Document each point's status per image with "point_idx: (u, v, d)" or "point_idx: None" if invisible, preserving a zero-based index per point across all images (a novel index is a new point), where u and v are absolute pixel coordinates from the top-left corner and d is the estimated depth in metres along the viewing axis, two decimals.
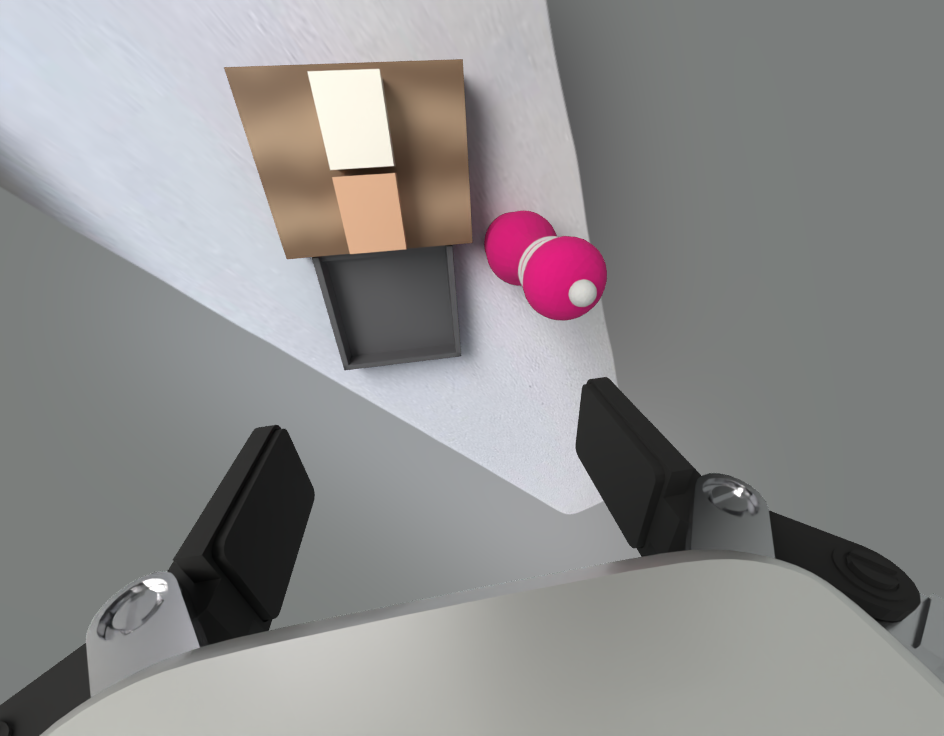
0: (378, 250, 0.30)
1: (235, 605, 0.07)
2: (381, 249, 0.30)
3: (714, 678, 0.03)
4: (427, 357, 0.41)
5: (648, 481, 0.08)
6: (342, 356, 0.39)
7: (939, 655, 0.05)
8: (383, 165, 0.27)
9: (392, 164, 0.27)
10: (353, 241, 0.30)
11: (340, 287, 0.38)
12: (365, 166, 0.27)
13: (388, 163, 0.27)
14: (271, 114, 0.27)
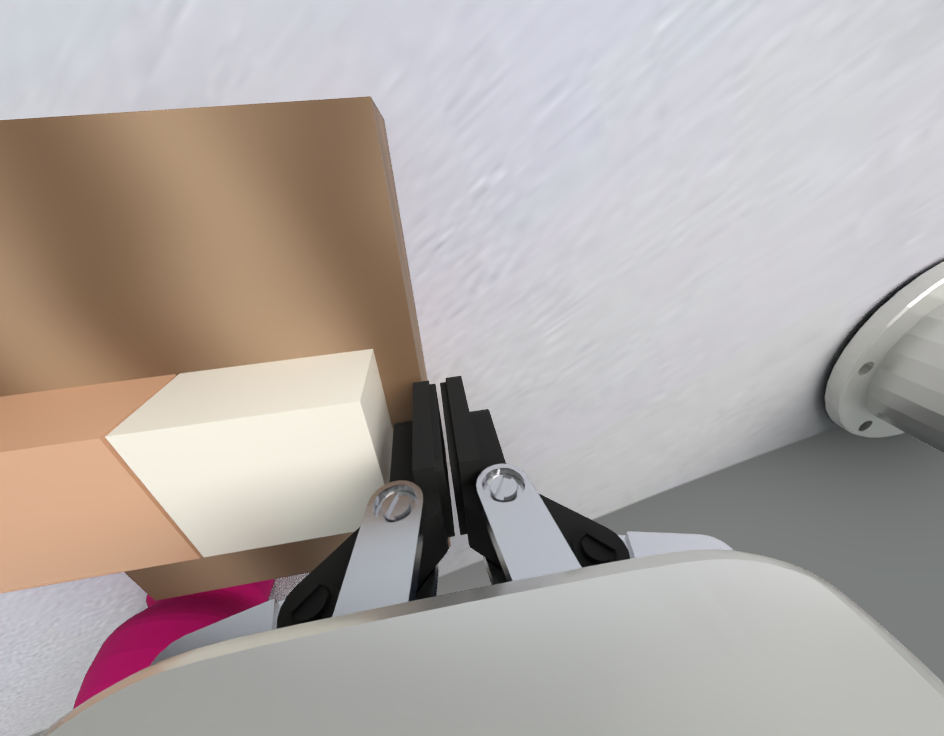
0: None
1: (442, 515, 0.08)
2: None
3: (714, 678, 0.03)
4: None
5: None
6: None
7: None
8: (193, 541, 0.10)
9: (205, 555, 0.11)
10: None
11: None
12: (169, 510, 0.09)
13: (204, 549, 0.10)
14: (279, 219, 0.09)
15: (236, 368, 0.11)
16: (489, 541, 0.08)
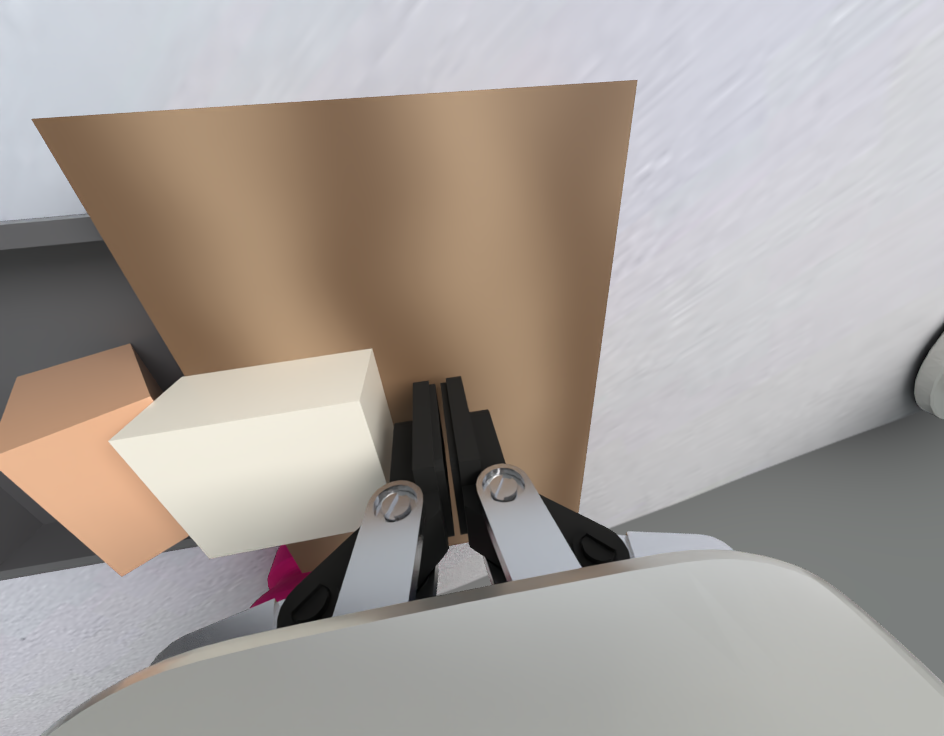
0: None
1: (442, 515, 0.08)
2: None
3: (714, 678, 0.03)
4: None
5: None
6: None
7: None
8: (199, 543, 0.10)
9: (211, 556, 0.11)
10: None
11: (67, 261, 0.12)
12: (174, 513, 0.10)
13: (209, 550, 0.11)
14: (524, 196, 0.10)
15: (237, 371, 0.11)
16: (490, 542, 0.08)
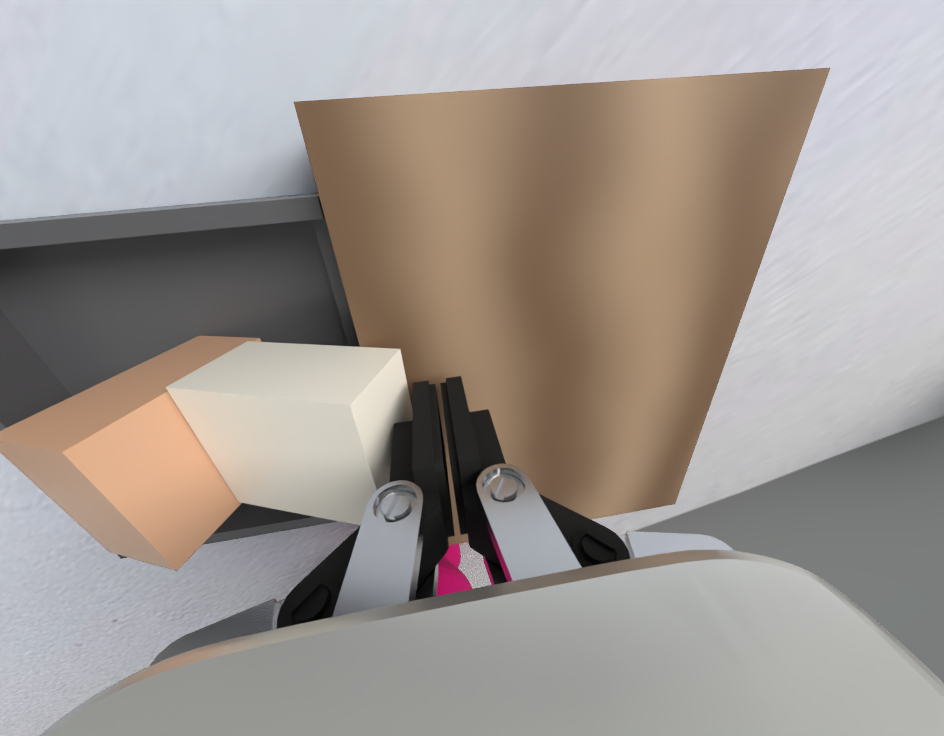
0: None
1: (442, 515, 0.08)
2: None
3: (714, 678, 0.03)
4: None
5: None
6: None
7: None
8: (230, 486, 0.12)
9: (239, 500, 0.12)
10: None
11: (236, 244, 0.12)
12: (211, 457, 0.11)
13: (237, 495, 0.12)
14: (704, 179, 0.10)
15: (285, 345, 0.12)
16: (489, 541, 0.08)
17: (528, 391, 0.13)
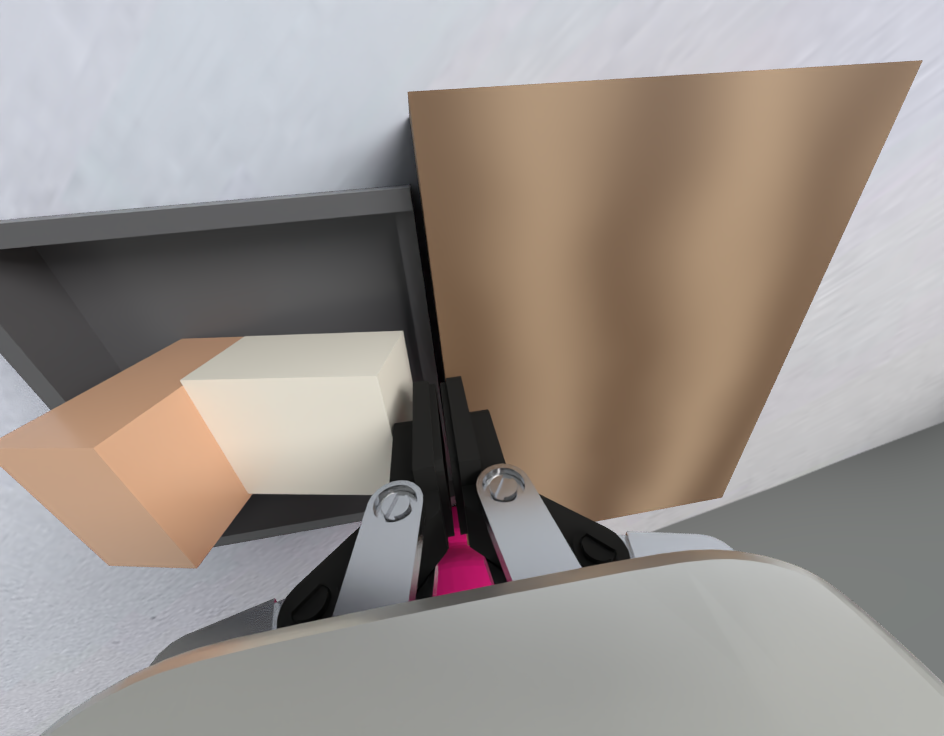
0: None
1: (442, 515, 0.08)
2: None
3: (714, 678, 0.03)
4: None
5: None
6: None
7: None
8: (241, 478, 0.12)
9: (249, 492, 0.12)
10: None
11: (309, 237, 0.12)
12: (223, 449, 0.11)
13: (248, 486, 0.12)
14: (789, 171, 0.10)
15: (287, 336, 0.12)
16: (490, 542, 0.08)
17: (595, 384, 0.13)
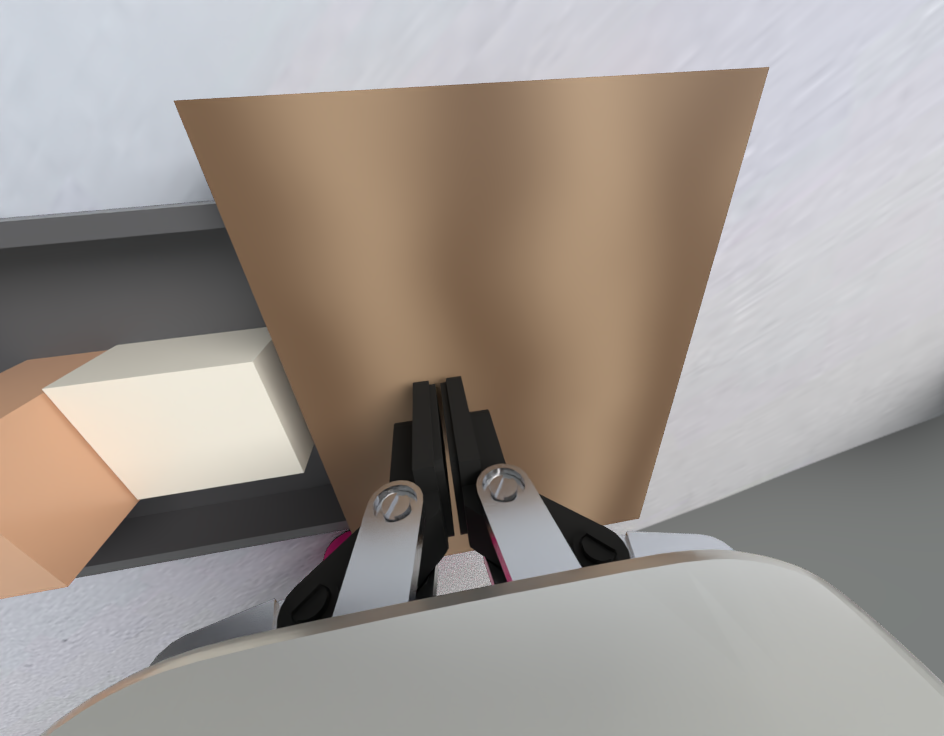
0: None
1: (442, 515, 0.08)
2: None
3: (714, 678, 0.03)
4: None
5: None
6: None
7: None
8: (126, 484, 0.12)
9: (139, 497, 0.13)
10: None
11: (155, 252, 0.11)
12: (102, 455, 0.11)
13: (136, 491, 0.12)
14: (642, 185, 0.09)
15: (164, 340, 0.13)
16: (490, 542, 0.08)
17: (471, 407, 0.12)
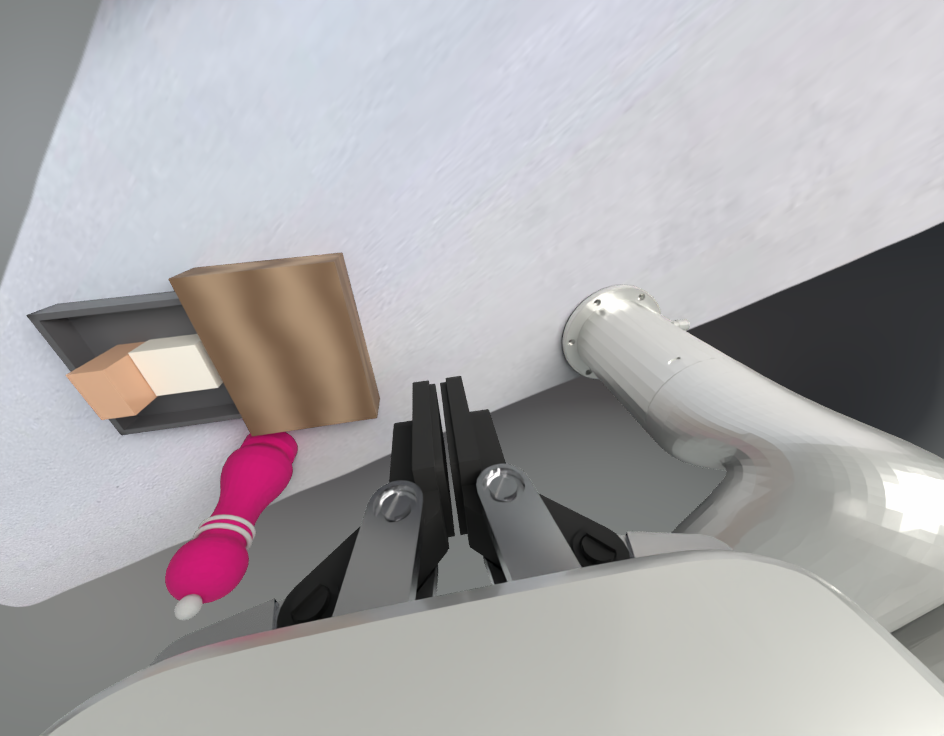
0: None
1: (442, 515, 0.08)
2: None
3: (714, 678, 0.03)
4: None
5: None
6: (50, 314, 0.30)
7: None
8: (152, 389, 0.34)
9: (157, 395, 0.35)
10: None
11: (163, 308, 0.33)
12: (145, 377, 0.34)
13: (156, 392, 0.34)
14: (309, 291, 0.31)
15: (166, 338, 0.35)
16: (490, 541, 0.08)
17: (276, 362, 0.34)
